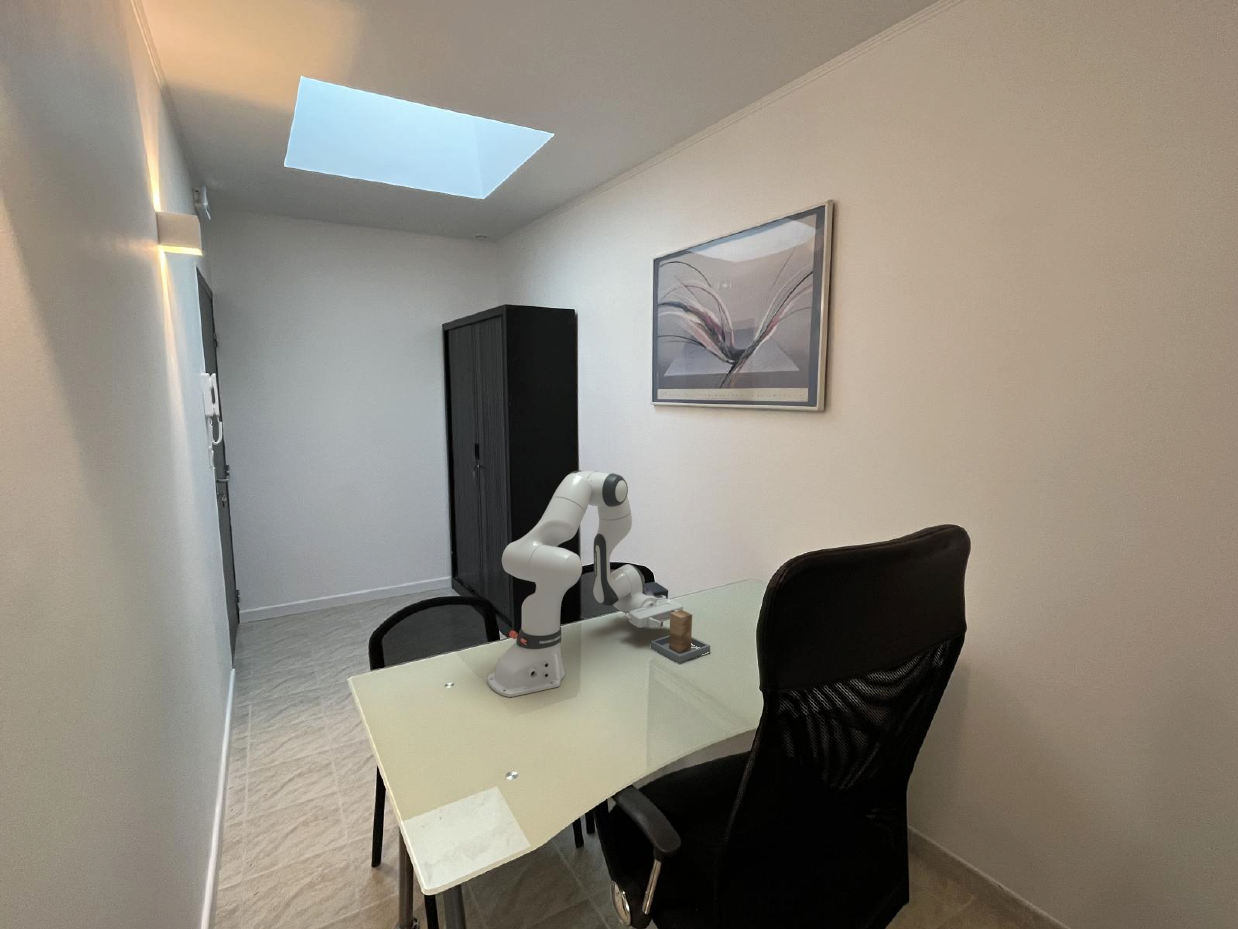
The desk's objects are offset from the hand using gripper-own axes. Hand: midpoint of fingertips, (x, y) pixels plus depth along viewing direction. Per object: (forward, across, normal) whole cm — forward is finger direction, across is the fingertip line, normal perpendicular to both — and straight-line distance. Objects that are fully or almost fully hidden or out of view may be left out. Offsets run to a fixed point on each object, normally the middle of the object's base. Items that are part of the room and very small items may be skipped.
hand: (672, 621), depth 196 cm
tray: (+4, 0, +9) cm, 10 cm away
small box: (-26, +15, +9) cm, 31 cm away
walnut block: (+4, 0, +8) cm, 9 cm away
